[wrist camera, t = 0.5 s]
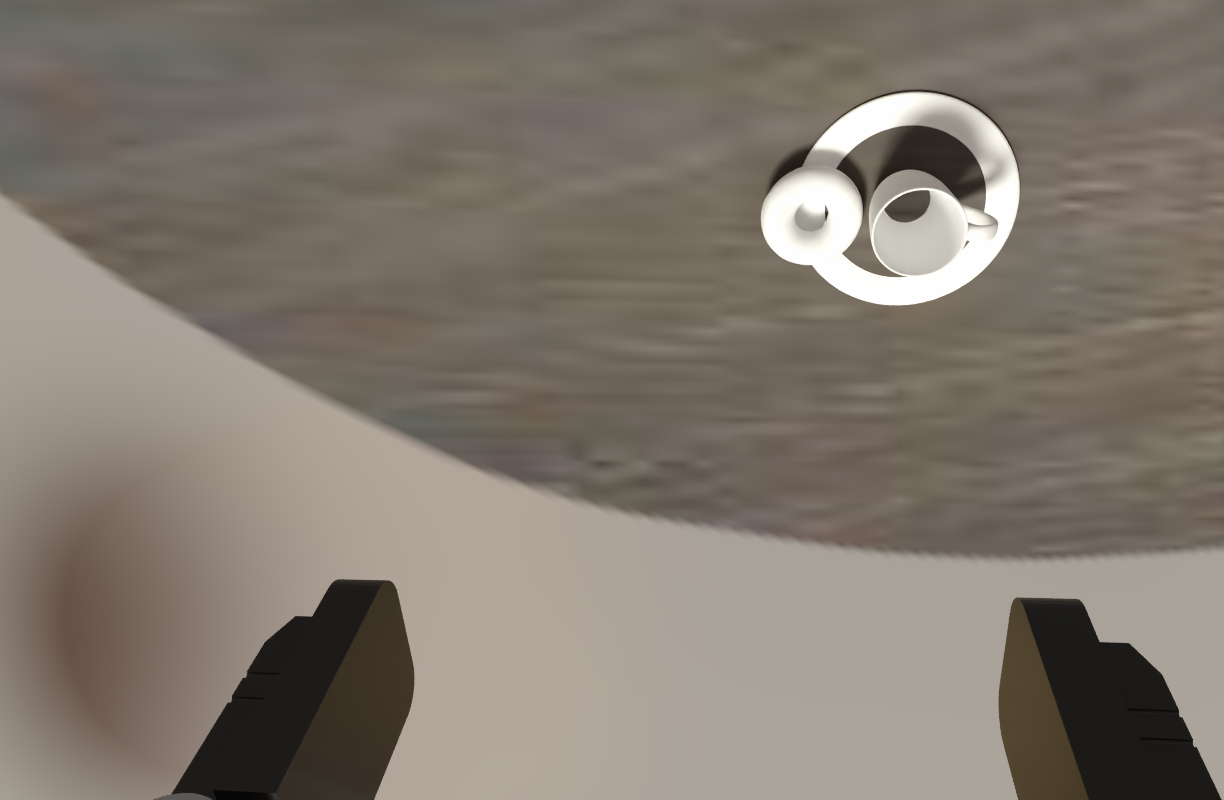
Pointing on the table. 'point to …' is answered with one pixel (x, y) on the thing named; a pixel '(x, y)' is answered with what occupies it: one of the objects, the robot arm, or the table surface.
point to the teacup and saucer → (901, 247)
